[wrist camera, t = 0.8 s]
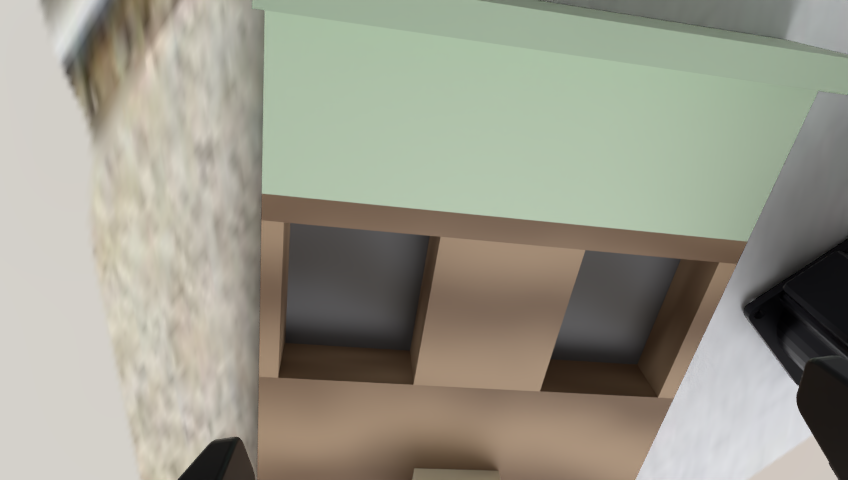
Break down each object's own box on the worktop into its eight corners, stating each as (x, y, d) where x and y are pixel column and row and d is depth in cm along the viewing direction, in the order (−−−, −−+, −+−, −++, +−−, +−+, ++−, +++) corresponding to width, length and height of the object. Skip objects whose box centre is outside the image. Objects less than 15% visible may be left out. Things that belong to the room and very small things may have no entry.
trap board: (576, 531, 33) (590, 574, 31) (263, 527, 30) (255, 573, 28) (712, 213, 24) (747, 241, 21) (273, 166, 21) (261, 193, 19)
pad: (712, 213, 24) (781, 268, 20) (273, 166, 21) (250, 219, 17) (786, 39, 20) (887, 64, 16) (278, -42, 18) (252, -36, 14)
